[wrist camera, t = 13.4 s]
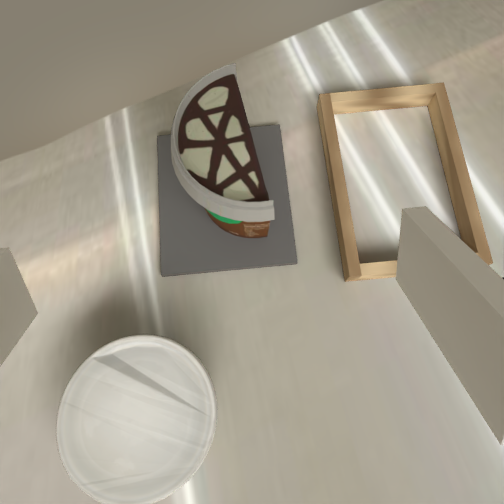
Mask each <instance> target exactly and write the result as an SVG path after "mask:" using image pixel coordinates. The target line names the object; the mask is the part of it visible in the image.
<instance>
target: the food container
mask: <svg viewBox="0 0 504 504" xmlns="http://www.w3.org/2000/svg"><path fill="white" fill-rule="evenodd" d="M171 157H172V164H173V167H174V170H175V174H176V176H177V178H178V179H179V181H180V183H181V185H182V186H183V188H184V189H185V190H186V192H187V193H188V194H189V195H190V196H191V197H192V198H193V199H194V200H195V201H196V202H197V203H198V204H200V205H201V206H203V207H204V208H205V210H206V212H207V214H208V216H209V217H210V218H211V220H212V221H213V222H214V223H215V224H216V225H217V226H218V227H220V228H221V229H223V230H224V231H226V232H228V233H230V234H232V235H235V236H239V237H243V238H262V237H267V236H268V231H269V226H270V220H275V219H274V206H273V200H269V195H268V192H267V190H266V187H265V183H264V179H263V176H262V172H261V168H260V164H259V161H258V157H257V153H256V149H255V146H254V142H253V138H252V134H251V130H250V127H249V124H248V120H247V117H246V113H245V109H244V106H243V102H242V98H241V95H240V91H239V87H238V84H237V74H236V65H235V63H233V64H229V65H226V66H223V67H221V68H218V69H216V70H214V71H212V72H210V73H209V74H207V75H206V76H204V77H203V78H201V79H200V80H199V81H198V82H196V83H195V84H194V85H193V86H192V87H191V89H190V90H189V91H188V92H187V93H186V95H185V96H184V98H183V99H182V101H181V103H180V105H179V107H178V109H177V112H176V114H175V117H174V120H173V124H172V128H171Z"/></svg>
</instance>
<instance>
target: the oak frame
mask: <svg viewBox="0 0 504 504" xmlns="http://www.w3.org/2000/svg"><path fill="white" fill-rule="evenodd" d="M419 106H428V110H429V114H430V118H431V122H432V125H433V129H434V133H435V137H436V141H437V145H438V149H439V153H440V157H441V161H442V165H443V169H444V173H445V177H446V181H447V185H448V188H449V192H450V196H451V200H452V204H453V208H454V212H455V216H456V220H457V224H458V228H459V232H460V236H461V240H462V241H463V242H464V243H465V244H466V245H467V246H468V247H470V248H471V249H472V250H473V251H474V252H475V253H476V254H477V255H478V256H479V257H480V258H481V259H482V260H483V261H484V262H486V263H487V264H488V265H490V264H492V263H493V261H492V257H491V254H490V250H489V246H488V243H487V239H486V235H485V232H484V228H483V224H482V221H481V217H480V213H479V210H478V206H477V202H476V199H475V195H474V191H473V188H472V184H471V180H470V177H469V173H468V169H467V166H466V162H465V158H464V155H463V151H462V147H461V144H460V140H459V136H458V133H457V129H456V125H455V122H454V118H453V114H452V111H451V107H450V103H449V100H448V96H447V92H446V89H445V85H444V83H435V84H424V85H413V86H402V87H392V88H381V89H370V90H359V91H348V92H337V93H326V94H320V95H319V99H318V104H317V112H318V118H319V124H320V130H321V136H322V143H323V149H324V155H325V161H326V167H327V174H328V180H329V186H330V192H331V198H332V205H333V211H334V217H335V223H336V229H337V235H338V242H339V248H340V254H341V260H342V266H343V273H344V279H345V282H347V281H357V280H368V279H379V278H389V277H396V271H397V260H395V261H384V262H374V263H363V264H360V262H359V257H358V251H357V245H356V240H355V234H354V228H353V222H352V217H351V211H350V205H349V199H348V194H347V188H346V182H345V176H344V171H343V165H342V159H341V154H340V148H339V142H338V136H337V131H336V125H335V119H334V114H343V113H354V112H364V111H375V110H386V109H397V108H408V107H419Z"/></svg>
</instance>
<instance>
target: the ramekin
mask: <svg viewBox="0 0 504 504" xmlns="http://www.w3.org/2000/svg"><path fill="white" fill-rule="evenodd" d="M217 410H218V409H217V398H216V393H215V389H214V385H213V383H212V380H211V377H210V375H209V373H208V371H207V370H206V368H205V366H204V365H203V364H202V362H201V361H200V360H199V359H198V358H197V356H196V355H194V354H193V353H192V352H191V351H190V350H189V349H187V348H186V347H185V346H183V345H181V344H180V343H178V342H176V341H174V340H171V339H169V338H166V337H162V336H158V335H150V334H139V335H131V336H126V337H123V338H119V339H117V340H114V341H112V342H109V343H107V344H106V345H104V346H102V347H101V348H99V349H98V350H96V351H95V352H94V353H92V354H91V355H90V356H89V357H88V358H87V359H86V360H85V361H84V362H83V363H82V364H81V365H80V366H79V367H78V369H77V370H76V371H75V373H74V374H73V375H72V377H71V378H70V380H69V382H68V384H67V386H66V388H65V390H64V392H63V395H62V398H61V400H60V404H59V408H58V413H57V421H56V441H57V447H58V452H59V455H60V458H61V461H62V464H63V466H64V468H65V470H66V472H67V474H68V476H69V478H70V479H71V480H72V481H73V482H74V483H75V484H76V485H77V487H78V488H79V489H80V490H82V491H83V492H84V493H85V494H87V495H88V496H90V497H91V498H93V499H94V500H96V501H98V502H101V503H103V504H152V503H155V502H157V501H160V500H162V499H164V498H166V497H168V496H170V495H171V494H173V493H174V492H176V491H177V490H178V489H180V488H181V487H182V486H183V485H184V484H185V483H186V482H187V481H189V479H190V478H191V477H192V476H193V475H194V474H195V472H196V471H197V470H198V468H199V467H200V466H201V464H202V462H203V461H204V459H205V457H206V455H207V453H208V451H209V449H210V447H211V444H212V441H213V438H214V435H215V430H216V424H217Z"/></svg>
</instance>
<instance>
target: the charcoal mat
mask: <svg viewBox="0 0 504 504" xmlns="http://www.w3.org/2000/svg"><path fill="white" fill-rule="evenodd" d="M250 130H251V134H252V138H253V142H254V146H255V149H256V153H257V157H258V161H259V164H260V168H261V172H262V176H263V179H264V183H265V187H266V190H267V192H268V195H269V200H273V206H274V219H275V220H270V226H269V231H268V236H267V237H262V238H243V237H239V236H235V235H232V234H230V233H228V232H226V231H224V230H223V229H221V228H220V227H218V226H217V225H216V224H215V223H214V222H213V221H212V220H211V218H210V217H209V216H208V214H207V212H206V210H205V208H204V207H203V206H201V205H200V204H198V203H197V202H196V201H195V200H194V199H193V198H192V197H191V196H190V195H189V194H188V193H187V192H186V190H185V189H184V188H183V186H182V185H181V183H180V181H179V179H178V178H177V176H176V174H175V170H174V167H173V164H172V157H171V135H161V136H157V143H158V179H159V215H160V251H161V275H162V276H163V277H165V276H175V275H186V274H197V273H207V272H218V271H228V270H239V269H250V268H260V267H271V266H281V265H292V264H297V255H296V247H295V239H294V232H293V224H292V216H291V208H290V201H289V193H288V185H287V177H286V169H285V162H284V154H283V146H282V138H281V131H280V125H269V126H259V127H250Z"/></svg>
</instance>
